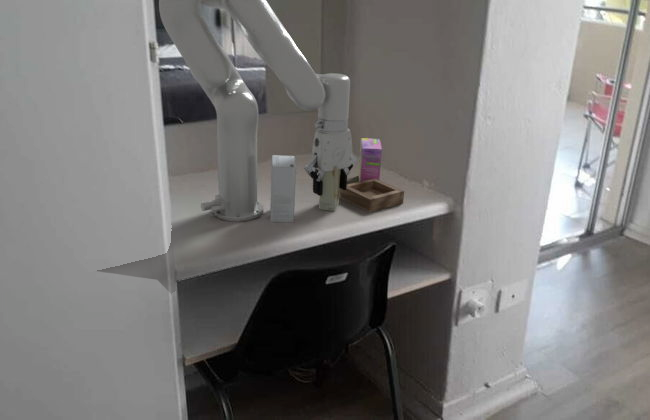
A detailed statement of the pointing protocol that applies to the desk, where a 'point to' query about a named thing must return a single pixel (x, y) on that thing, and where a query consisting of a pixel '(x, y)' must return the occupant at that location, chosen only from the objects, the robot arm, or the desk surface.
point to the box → (370, 159)
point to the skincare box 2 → (330, 190)
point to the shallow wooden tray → (372, 194)
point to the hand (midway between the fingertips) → (329, 190)
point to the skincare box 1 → (283, 188)
